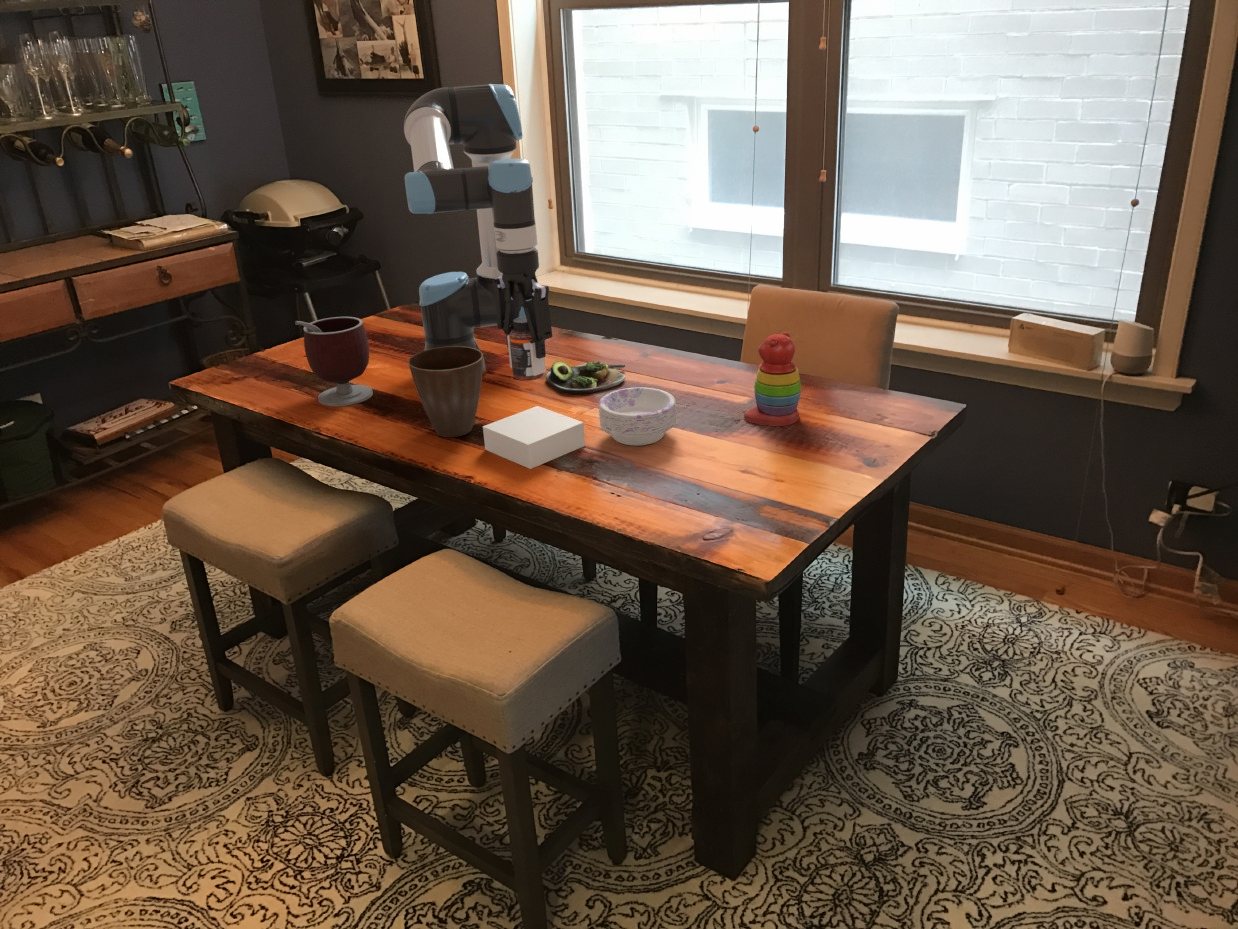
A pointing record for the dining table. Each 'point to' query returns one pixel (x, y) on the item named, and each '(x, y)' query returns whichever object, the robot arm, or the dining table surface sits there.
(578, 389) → the salad plate
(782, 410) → the stacking bear
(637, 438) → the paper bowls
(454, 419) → the plant pot
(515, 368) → the supplement bottle
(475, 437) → the dining table surface
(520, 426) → the white flat block
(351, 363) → the mate gourd
